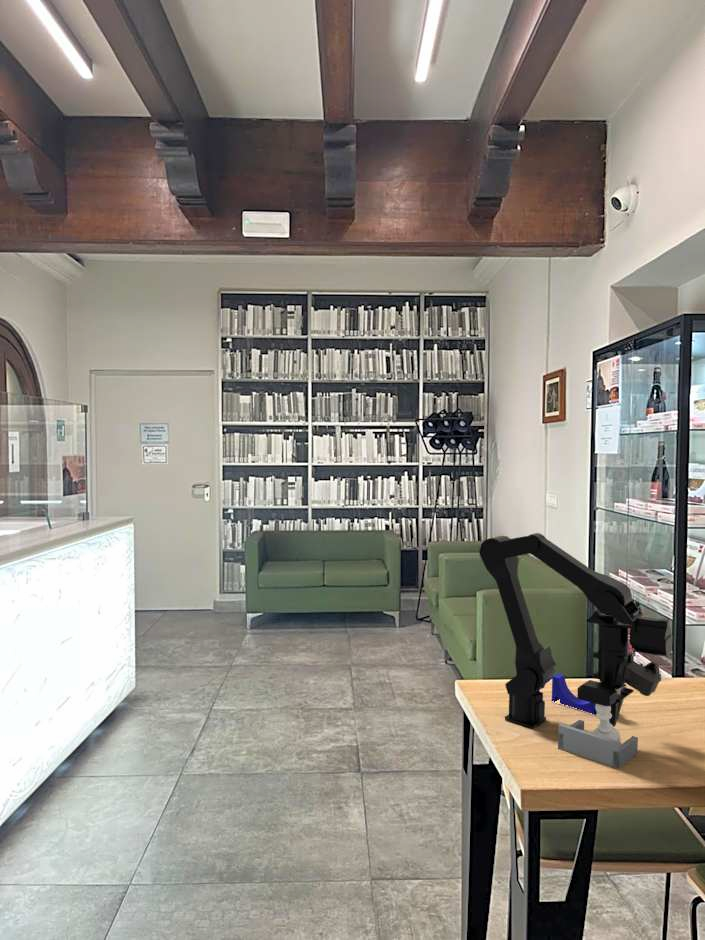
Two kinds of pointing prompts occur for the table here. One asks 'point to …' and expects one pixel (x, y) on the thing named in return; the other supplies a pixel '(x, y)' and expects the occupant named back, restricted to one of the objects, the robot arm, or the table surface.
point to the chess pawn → (605, 724)
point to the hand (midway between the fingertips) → (612, 726)
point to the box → (595, 745)
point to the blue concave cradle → (569, 695)
